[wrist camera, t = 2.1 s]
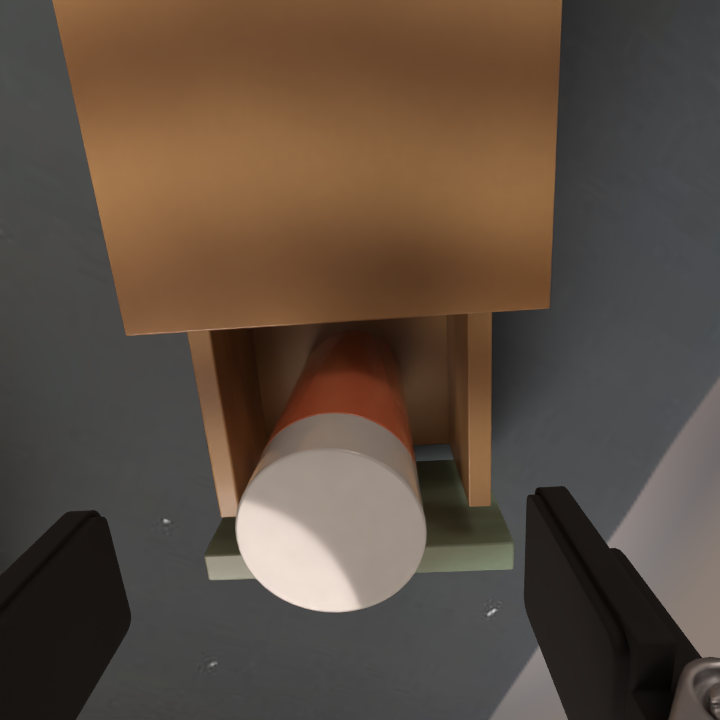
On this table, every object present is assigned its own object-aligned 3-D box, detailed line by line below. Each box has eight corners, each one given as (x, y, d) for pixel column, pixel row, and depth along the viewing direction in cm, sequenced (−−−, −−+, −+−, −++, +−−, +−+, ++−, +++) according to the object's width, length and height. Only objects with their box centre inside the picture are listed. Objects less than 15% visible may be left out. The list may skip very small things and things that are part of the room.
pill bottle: (298, 333, 21) (220, 454, 10) (399, 326, 21) (423, 443, 10) (308, 425, 22) (248, 616, 12) (404, 420, 22) (430, 610, 12)
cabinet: (487, 274, 22) (550, 308, 14) (212, 293, 23) (125, 336, 15) (488, -97, 18) (577, -339, 10) (155, -61, 19) (-7, -261, 11)
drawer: (478, 500, 24) (513, 596, 18) (253, 510, 25) (213, 606, 19) (478, 216, 20) (522, 217, 14) (209, 236, 21) (141, 246, 15)
